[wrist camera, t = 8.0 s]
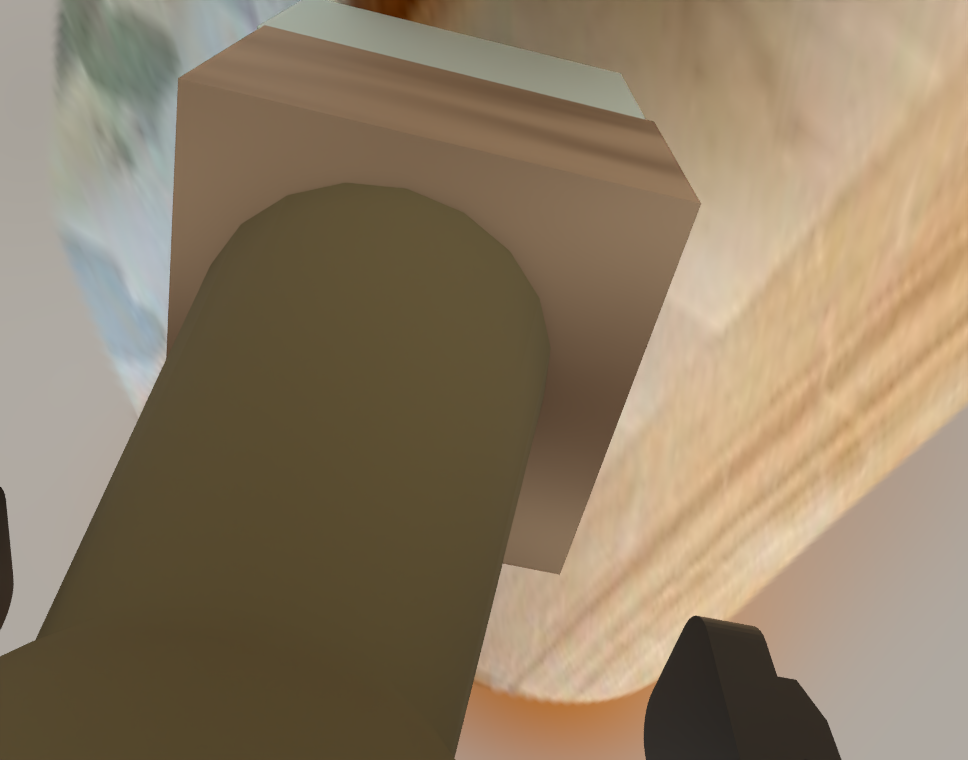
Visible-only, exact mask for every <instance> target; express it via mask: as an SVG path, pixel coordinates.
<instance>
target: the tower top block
mask: <svg viewBox="0 0 968 760" xmlns="http://www.w3.org/2000/svg"><path fill="white" fill-rule="evenodd" d="M341 183H355V184H365V185H375V186H385V187H395V188H406V189H409V190H411V191H414V192H416V193H418V194H421V195H423V196H426V197H428V198H430V199H433V200H435V201H437V202H440V203H442V204H445V205H447V206H449V207H452V208H454V209H457V210H459V211H461V212H464V213H465V214H466V215H467V216H469V217H470V218H471V219H472V220H473V221H475V222H476V223H477V224H478V225H479V226H481V227H482V228H483V229H484V230H485V231H487V232H488V233H489V234H490V235H491V236H493V237H494V238H495V239H496V240H497V241H499V242H500V243H501V244H502V245H503V246H505V247H506V248H507V249H508V250H509V251H510V252H511V253H512V255H513V257H514V258H515V260H516V261H517V263H518V265H519V266H520V268H521V269H522V271H523V273H524V274H525V276H526V277H527V279H528V281H529V282H530V284H531V285H532V287H533V289H534V290H535V292H536V293H537V295H538V297H539V298H540V303H541V307H542V312H543V316H544V321H545V325H546V329H547V334H548V338H549V343H550V347H551V350H550V357H549V364H548V371H547V378H546V385H545V392H544V398H543V402H542V406H541V410H540V414H539V418H538V422H537V426H536V430H535V434H534V438H533V442H532V446H531V450H530V454H529V458H528V462H527V466H526V470H525V474H524V479H523V483H522V487H521V491H520V495H519V499H518V503H517V507H516V511H515V515H514V519H513V523H512V527H511V531H510V535H509V539H508V543H507V547H506V551H505V555H504V559H503V564H508V565H514V566H519V567H524V568H529V569H534V570H539V571H545V572H550V573H555V574H560V573H561V570H562V567H563V565H564V562H565V559H566V557H567V554H568V552H569V549H570V546H571V544H572V541H573V538H574V536H575V533H576V531H577V528H578V525H579V523H580V520H581V517H582V515H583V512H584V510H585V507H586V504H587V502H588V499H589V496H590V494H591V491H592V489H593V486H594V483H595V481H596V478H597V475H598V473H599V470H600V468H601V465H602V462H603V460H604V457H605V454H606V452H607V449H608V447H609V444H610V441H611V439H612V436H613V433H614V431H615V428H616V426H617V423H618V420H619V418H620V415H621V412H622V410H623V407H624V405H625V402H626V399H627V397H628V394H629V391H630V389H631V386H632V383H633V381H634V378H635V376H636V373H637V370H638V368H639V365H640V362H641V360H642V357H643V355H644V352H645V349H646V347H647V344H648V341H649V339H650V336H651V334H652V331H653V328H654V326H655V323H656V320H657V318H658V315H659V313H660V310H661V307H662V305H663V302H664V299H665V297H666V294H667V292H668V289H669V286H670V284H671V281H672V278H673V276H674V273H675V271H676V268H677V265H678V263H679V260H680V257H681V255H682V252H683V250H684V247H685V244H686V242H687V239H688V236H689V234H690V231H691V229H692V226H693V223H694V221H695V218H696V215H697V213H698V210H699V208H700V205H701V203H700V201H699V199H698V198H697V196H696V194H695V192H694V191H693V189H692V187H691V185H690V184H689V182H688V180H687V178H686V177H685V175H684V173H683V171H682V170H681V168H680V166H679V164H678V163H677V161H676V159H675V157H674V156H673V154H672V152H671V150H670V149H669V147H668V145H667V143H666V142H665V140H664V138H663V136H662V135H661V133H660V131H659V129H658V128H657V126H656V124H655V122H653V121H649V120H645V119H641V118H637V117H633V116H629V115H625V114H621V113H617V112H613V111H609V110H605V109H601V108H597V107H593V106H589V105H585V104H581V103H577V102H573V101H569V100H565V99H561V98H557V97H552V96H548V95H544V94H540V93H536V92H532V91H528V90H524V89H520V88H516V87H512V86H508V85H504V84H500V83H496V82H492V81H488V80H484V79H480V78H476V77H472V76H468V75H464V74H460V73H456V72H452V71H448V70H444V69H440V68H436V67H432V66H428V65H424V64H420V63H415V62H411V61H407V60H403V59H399V58H395V57H391V56H387V55H383V54H379V53H375V52H371V51H367V50H363V49H359V48H355V47H351V46H347V45H343V44H339V43H335V42H331V41H327V40H323V39H319V38H315V37H311V36H307V35H303V34H299V33H295V32H291V31H287V30H283V29H278V28H274V27H270V26H266V25H264V26H262V27H261V28H259V29H257V30H256V31H254V32H253V33H251V34H249V35H248V36H246V37H244V38H243V39H241V40H240V41H238V42H236V43H235V44H233V45H231V46H230V47H228V48H227V49H225V50H223V51H222V52H220V53H218V54H217V55H215V56H214V57H212V58H210V59H209V60H207V61H205V62H204V63H202V64H201V65H199V66H197V67H196V68H194V69H192V70H191V71H189V72H188V73H186V74H184V75H183V76H181V77H179V78H178V97H177V121H176V144H175V168H174V192H173V216H172V239H171V263H170V287H169V310H168V334H167V357H168V355H169V353H170V351H171V349H172V346H173V344H174V342H175V340H176V338H177V336H178V334H179V331H180V329H181V327H182V325H183V323H184V321H185V319H186V316H187V314H188V312H189V310H190V308H191V306H192V304H193V301H194V299H195V297H196V295H197V293H198V291H199V289H200V286H201V284H202V282H203V280H204V278H205V276H206V274H207V271H208V269H209V267H210V265H211V264H212V262H213V261H214V260H215V258H216V257H217V256H218V254H219V253H220V252H221V250H222V249H223V248H224V246H225V245H226V244H227V242H228V241H229V240H230V238H231V237H232V236H233V234H234V233H235V232H236V230H237V229H238V228H239V226H240V225H241V224H242V223H244V222H245V221H247V220H249V219H250V218H252V217H253V216H255V215H257V214H258V213H260V212H261V211H263V210H265V209H266V208H268V207H269V206H271V205H273V204H274V203H276V202H277V201H279V200H281V199H282V198H284V197H285V196H287V195H291V194H295V193H300V192H304V191H309V190H313V189H318V188H322V187H327V186H332V185H336V184H341ZM166 359H167V358H166Z"/></svg>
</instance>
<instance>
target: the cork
mask: <svg viewBox="0 0 968 760" xmlns="http://www.w3.org/2000/svg"><path fill="white" fill-rule="evenodd" d="M550 350H551V347H550V343H549V338H548V334H547V329H546V325H545V321H544V316H543V312H542V307H541V303H540V298H539V297H538V295H537V293H536V292H535V290H534V289H533V287H532V285H531V284H530V282H529V281H528V279H527V277H526V276H525V274H524V273H523V271H522V269H521V268H520V266H519V265H518V263H517V261H516V260H515V258H514V257H513V255H512V253H511V252H510V251H509V250H508V249H507V248H506V247H505V246H503V245H502V244H501V243H500V242H499V241H497V240H496V239H495V238H494V237H493V236H491V235H490V234H489V233H488V232H487V231H485V230H484V229H483V228H482V227H481V226H479V225H478V224H477V223H476V222H475V221H473V220H472V219H471V218H470V217H469V216H467V215H466V214H465V213H464V212H461V211H459V210H457V209H454V208H452V207H449V206H447V205H445V204H442V203H440V202H437V201H435V200H433V199H430V198H428V197H426V196H423V195H421V194H418V193H416V192H414V191H411V190H409V189H406V188H395V187H385V186H375V185H365V184H355V183H341V184H336V185H332V186H327V187H322V188H318V189H313V190H309V191H304V192H300V193H295V194H291V195H287V196H285V197H284V198H282V199H281V200H279V201H277V202H276V203H274V204H273V205H271V206H269V207H268V208H266V209H265V210H263V211H261V212H260V213H258V214H257V215H255V216H253V217H252V218H250V219H249V220H247V221H245V222H244V223H242V224H241V225H240V226H239V228H238V229H237V230H236V232H235V233H234V234H233V236H232V237H231V238H230V240H229V241H228V242H227V244H226V245H225V246H224V248H223V249H222V250H221V252H220V253H219V254H218V256H217V257H216V258H215V260H214V261H213V262H212V264H211V265H210V267H209V269H208V271H207V274H206V276H205V278H204V280H203V282H202V284H201V286H200V289H199V291H198V293H197V295H196V297H195V299H194V301H193V304H192V306H191V308H190V310H189V312H188V314H187V316H186V319H185V321H184V323H183V325H182V327H181V329H180V331H179V334H178V336H177V338H176V340H175V342H174V344H173V346H172V349H171V351H170V353H169V355H168V357H167V359H166V361H165V364H164V366H163V368H162V370H161V372H160V374H159V376H158V379H157V381H156V383H155V385H154V387H153V389H152V391H151V394H150V396H149V398H148V400H147V402H146V404H145V406H144V409H143V411H142V413H141V415H140V417H139V419H138V421H137V424H136V426H135V428H134V430H133V432H132V434H131V437H130V439H129V441H128V443H127V445H126V447H125V449H124V451H123V454H122V456H121V458H120V460H119V462H118V464H117V466H116V469H115V471H114V473H113V475H112V477H111V479H110V481H109V484H108V486H107V488H106V490H105V492H104V494H103V497H102V499H101V501H100V503H99V505H98V507H97V509H96V512H95V514H94V516H93V518H92V520H91V522H90V524H89V527H88V529H87V531H86V533H85V535H84V537H83V539H82V541H81V544H80V546H79V548H78V550H77V553H76V554H75V556H74V559H73V561H72V563H71V565H70V567H69V570H68V571H67V574H66V576H65V578H64V580H63V582H62V585H61V586H60V589H59V591H58V593H57V595H56V597H55V599H54V601H53V604H52V606H51V608H50V610H49V612H48V614H47V616H46V619H45V621H44V623H43V625H42V627H41V629H40V631H39V634H38V636H37V638H36V640H35V641H32V642H30V643H28V644H26V645H24V646H22V647H20V648H18V649H15V650H13V651H11V652H9V653H7V654H5V655H2V656H1V657H0V760H455V759H454V757H455V753H456V749H457V745H458V741H459V737H460V733H461V729H462V725H463V721H464V717H465V712H466V708H467V705H468V700H469V697H470V693H471V689H472V685H473V681H474V676H475V672H476V668H477V664H478V660H479V656H480V652H481V648H482V644H483V640H484V636H485V632H486V628H487V624H488V620H489V616H490V612H491V608H492V604H493V600H494V596H495V592H496V588H497V584H498V580H499V575H500V571H501V567H502V563H503V559H504V555H505V551H506V547H507V543H508V539H509V535H510V531H511V527H512V523H513V519H514V515H515V511H516V507H517V503H518V499H519V495H520V491H521V487H522V483H523V479H524V474H525V470H526V466H527V462H528V458H529V454H530V450H531V446H532V442H533V438H534V434H535V430H536V426H537V422H538V418H539V414H540V410H541V406H542V402H543V398H544V392H545V385H546V378H547V371H548V364H549V357H550Z"/></svg>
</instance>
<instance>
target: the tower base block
mask: <svg viewBox="0 0 968 760" xmlns="http://www.w3.org/2000/svg"><path fill="white" fill-rule="evenodd" d="M264 25H266V26H270V27H274V28H278V29H283V30H287V31H291V32H295V33H299V34H303V35H307V36H311V37H315V38H319V39H323V40H327V41H331V42H335V43H339V44H343V45H347V46H351V47H355V48H359V49H363V50H367V51H371V52H375V53H379V54H383V55H387V56H391V57H395V58H399V59H403V60H407V61H411V62H415V63H420V64H424V65H428V66H432V67H436V68H440V69H444V70H448V71H452V72H456V73H460V74H464V75H468V76H472V77H476V78H480V79H484V80H488V81H492V82H496V83H500V84H504V85H508V86H512V87H516V88H520V89H524V90H528V91H532V92H536V93H540V94H544V95H548V96H552V97H557V98H561V99H565V100H569V101H573V102H577V103H581V104H585V105H589V106H593V107H597V108H601V109H605V110H609V111H613V112H617V113H621V114H625V115H629V116H633V117H637V118H641V119H645V117H644V115H643V113H642V112H641V110H640V108H639V106H638V104H637V102H636V100H635V99H634V97H633V95H632V93H631V91H630V89H629V88H628V86H627V84H626V82H625V80H624V78H623V76H622V75H621V73H618V72H613V71H609V70H605V69H601V68H597V67H593V66H589V65H585V64H581V63H577V62H573V61H569V60H565V59H561V58H557V57H553V56H549V55H545V54H541V53H537V52H533V51H529V50H525V49H521V48H517V47H513V46H509V45H505V44H501V43H497V42H493V41H489V40H485V39H481V38H477V37H473V36H469V35H465V34H461V33H457V32H453V31H449V30H445V29H441V28H437V27H433V26H429V25H425V24H421V23H417V22H413V21H409V20H404V19H400V18H396V17H392V16H388V15H384V14H380V13H376V12H372V11H368V10H364V9H360V8H356V7H352V6H348V5H344V4H340V3H336V2H332V1H328V0H301V1H299V2H297V3H296V4H294V5H292V6H291V7H289V8H287V9H286V10H284V11H282V12H281V13H279V14H277V15H276V16H274V17H272V18H271V19H269V20H267V21H266V22H264V23H262V24H261V25H259V26H257V29H259V28H261V27H262V26H264ZM645 120H646V119H645Z"/></svg>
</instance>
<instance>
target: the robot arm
mask: <svg viewBox="0 0 968 760" xmlns="http://www.w3.org/2000/svg"><path fill="white" fill-rule="evenodd" d="M12 594H13V569H12V560H11V549H10V539H9V528H8V518H7V508H6V498H5V494H4V491H3V490H2V488H1V487H0V629H1V627H2V625H3V623H4V621H5V618H6V616H7V613H8V610H9V607H10V603H11V599H12ZM644 748H645V756H646V760H841V758H840V755H839V753H838V749H837V747H836V744H835V741H834V738H833V736H832V733H831V730H830V728H829V725H828V722H827V720H826V719H825V718H824V716H823V715H822V714H821V712H820V711H819V710H818V708H817V707H816V706H815V704H814V703H813V702H812V700H811V699H810V698H809V696H808V695H807V694H806V692H805V691H804V690H803V688H802V687H801V686H800V685H799V683H798V682H797V680H794V679H788V678H782V677H777V674H776V671H775V668H774V665H773V662H772V659H771V656H770V653H769V650H768V647H767V644H766V641H765V638H764V636H763V634H762V633H761V631H760V630H759V629H758V628H756V627H755V626H749V625H744V624H739V623H733V622H728V621H722V620H717V619H711V618H706V617H700V616H693V617H691V618H690V619H689V620H688V622H687V623H686V625H685V627H684V628H683V631H682V633H681V635H680V637H679V639H678V641H677V643H676V645H675V647H674V649H673V651H672V653H671V655H670V657H669V659H668V661H667V663H666V665H665V667H664V669H663V671H662V673H661V675H660V677H659V679H658V681H657V684H656V686H655V687H654V689H653V692H652V694H651V696H650V699H649V702H648V706H647V710H646V715H645V723H644Z"/></svg>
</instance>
